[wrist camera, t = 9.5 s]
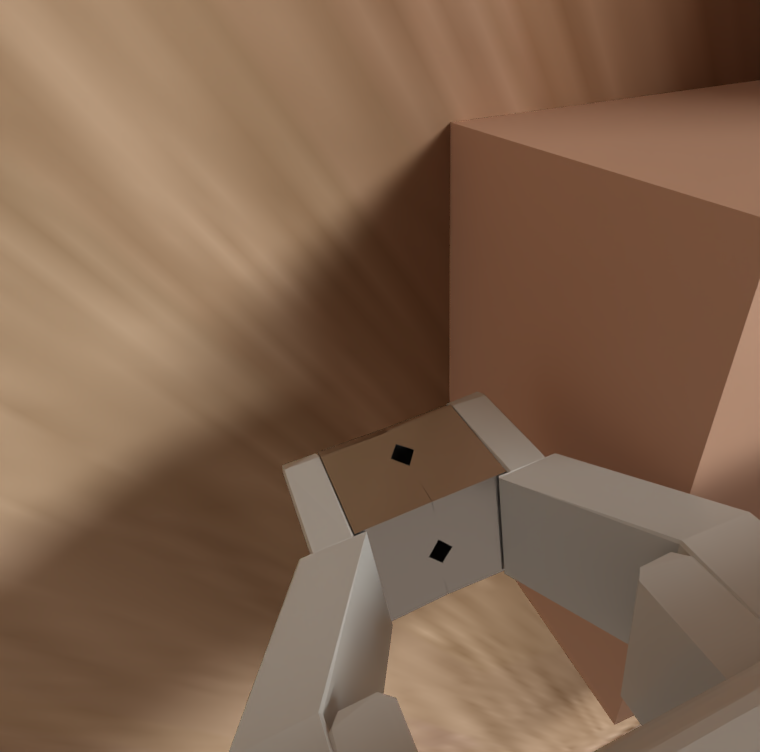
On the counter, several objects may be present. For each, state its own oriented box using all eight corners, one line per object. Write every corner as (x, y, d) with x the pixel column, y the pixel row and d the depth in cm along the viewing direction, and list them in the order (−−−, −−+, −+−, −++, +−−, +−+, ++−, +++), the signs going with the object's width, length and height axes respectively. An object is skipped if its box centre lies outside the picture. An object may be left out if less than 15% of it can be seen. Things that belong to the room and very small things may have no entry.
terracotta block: (447, 121, 9) (779, 222, 4) (807, 72, 11) (1299, 106, 7) (446, 479, 14) (613, 724, 9) (707, 397, 16) (958, 560, 11)
